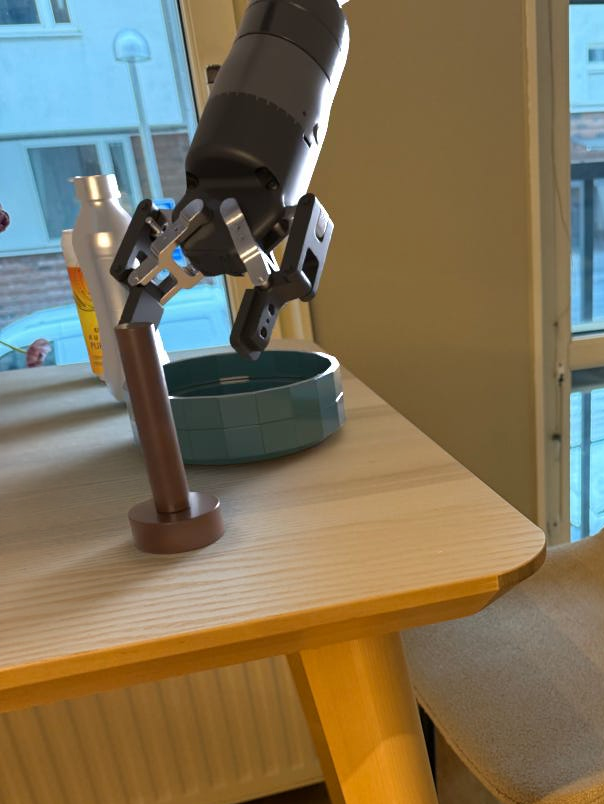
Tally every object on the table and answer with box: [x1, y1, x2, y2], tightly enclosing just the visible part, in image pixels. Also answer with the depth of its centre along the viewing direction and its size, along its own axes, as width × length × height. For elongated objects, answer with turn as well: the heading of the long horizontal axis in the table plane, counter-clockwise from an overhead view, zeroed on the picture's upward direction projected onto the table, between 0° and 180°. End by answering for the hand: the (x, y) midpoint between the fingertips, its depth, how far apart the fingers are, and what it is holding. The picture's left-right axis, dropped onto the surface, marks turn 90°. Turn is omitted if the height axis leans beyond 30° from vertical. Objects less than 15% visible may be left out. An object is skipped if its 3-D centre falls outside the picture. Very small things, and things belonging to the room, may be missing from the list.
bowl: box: [122, 348, 347, 466], centre depth 77 cm, size 17×17×6 cm
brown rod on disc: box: [114, 322, 226, 555], centre depth 56 cm, size 6×6×13 cm
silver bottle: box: [72, 174, 171, 403], centre depth 87 cm, size 6×7×20 cm
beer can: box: [60, 228, 105, 382], centre depth 99 cm, size 6×6×15 cm
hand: (185, 350), depth 57 cm, fingers open, 8 cm apart
